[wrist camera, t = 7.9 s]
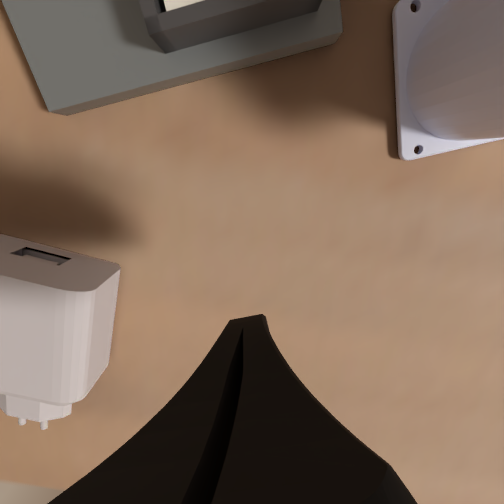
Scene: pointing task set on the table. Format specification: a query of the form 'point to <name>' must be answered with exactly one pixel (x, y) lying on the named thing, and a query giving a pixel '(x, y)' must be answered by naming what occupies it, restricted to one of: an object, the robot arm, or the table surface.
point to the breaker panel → (157, 43)
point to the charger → (52, 328)
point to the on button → (178, 3)
